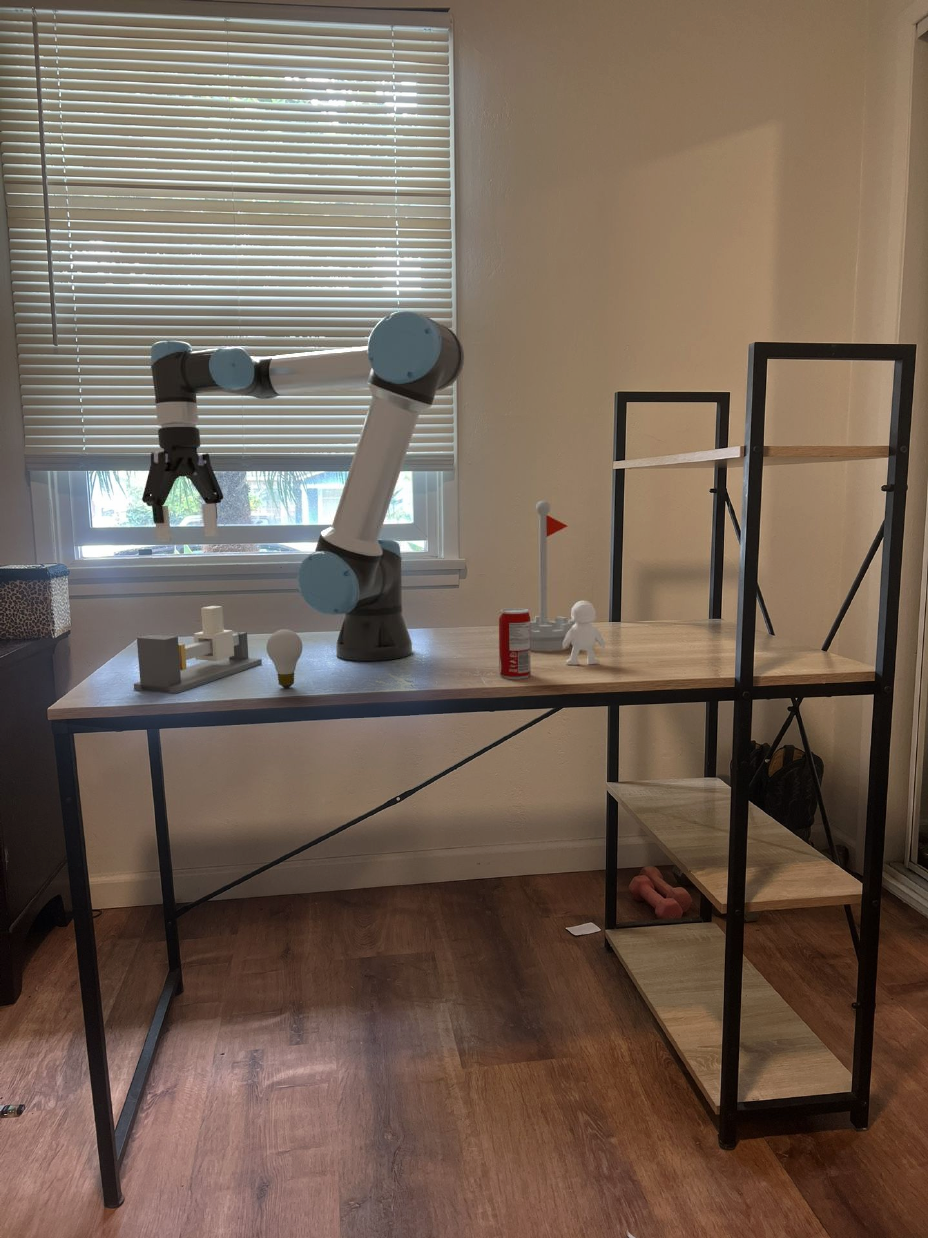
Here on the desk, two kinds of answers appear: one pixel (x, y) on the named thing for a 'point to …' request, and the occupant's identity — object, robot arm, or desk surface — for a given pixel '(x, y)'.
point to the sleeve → (215, 634)
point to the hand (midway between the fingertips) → (188, 538)
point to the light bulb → (284, 654)
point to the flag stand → (541, 630)
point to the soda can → (514, 643)
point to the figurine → (583, 633)
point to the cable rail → (168, 663)
